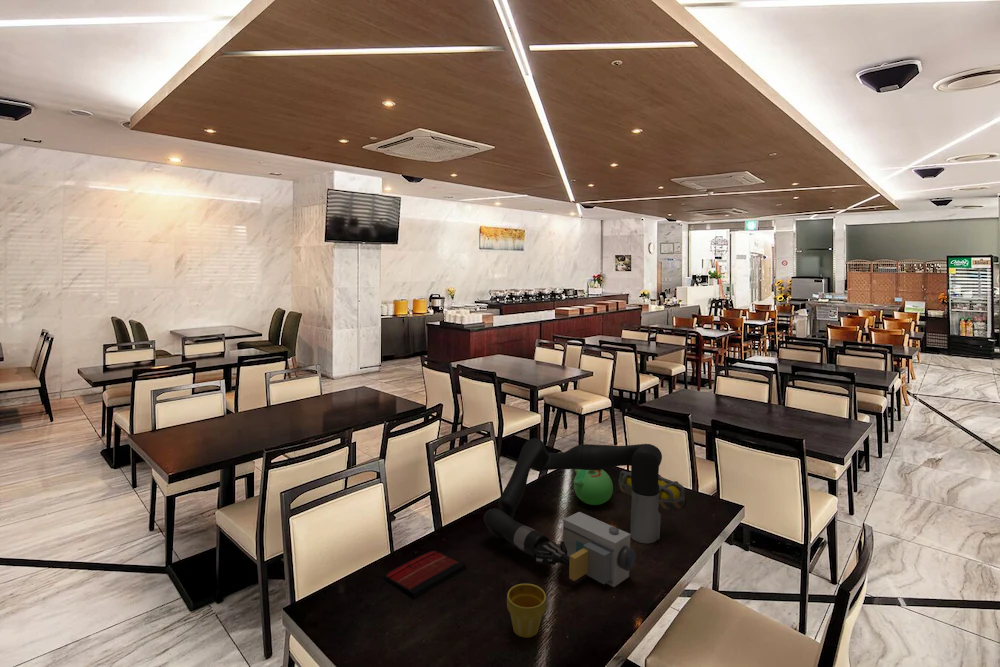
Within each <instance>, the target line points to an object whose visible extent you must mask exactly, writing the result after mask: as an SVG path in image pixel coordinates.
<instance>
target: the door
mask: <svg viewBox="0 0 1000 667" xmlns="http://www.w3.org/2000/svg"><path fill="white" fill-rule="evenodd" d="M568 569H569V570H568V574H569V575H568V578H569V579H570V580H572V581H573V582H575V581H577V580H579V579H580V578H581V577H584V576H585V575H586V576H587V577H589V578H591V579H593V580H595V581H596V582H598V583H601V584H603V585H605V584H607V582H608V581H610V577H611V552H610V551H608V550H606V549H604V548H602V547H600V546H598V545H596V544H594V543H592V542H588V543H586V544H585V545H583V549H581V550H579V551H578V552H576V553H574V554H572V555H571V556H570V562H569V567H568Z"/></svg>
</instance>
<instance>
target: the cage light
mask: <svg viewBox="0 0 1000 667" xmlns="http://www.w3.org/2000/svg"><path fill="white" fill-rule="evenodd" d="M658 484H659V506H658V509H662V510H669V511H672V510H673V511H674V510H679V509H682V508H683V507H685V499H686V498H685V497H686V496H685V492H686V491H685V490H686V489H685V487H684V486H683V485H682V484H681V483H679V481H677V480H676V481H675V480H674V481H673V480H670V479H667V478H665V477H662V475H661V474H659V477H658ZM618 486H619V487H618V490H619V491H620V490H621V491H620V492H622V493H624V494H626V493H627V494H626V495H628V494H629V495H628V496H630V495H631V496H630V497H632V483H631V471H629V472H628V471H625V470H620V473H619V478H618Z"/></svg>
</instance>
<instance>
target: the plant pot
mask: <svg viewBox="0 0 1000 667" xmlns="http://www.w3.org/2000/svg"><path fill="white" fill-rule="evenodd" d="M546 607H547V593H546V592H545V591H544V590H543V589H542V588H541V587H540V586H538V585H536V584H532V583H519V584H515V585H513V586H512V587H510V589H509V590H508V592H507V594H506V608H507V610H508V612H509V614H510V617H511V618H510V619H511V624H512V628H513V629H512V630H513V632H514V633H515V634H516V636H518V637H522V638H532V637H535V636H536V635H537V634H538V632H539V630H540V625H541V621H542V616H543V614H544V613H545V611H546V610H547V608H546Z"/></svg>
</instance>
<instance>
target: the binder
mask: <svg viewBox="0 0 1000 667" xmlns="http://www.w3.org/2000/svg"><path fill="white" fill-rule="evenodd" d="M464 570H467V563H466V562H462V561H460V560H458V559H456V558H454V557H451V556H449V555H447V554H445V553H444V552H441V551H438V550H429V551H428V552H425V553H423V554H421V555H418V556H415V557H414V558H412V559H410V560H408V561H406V562H404V563H402V564H400V565H399V566H396V567H395V568H393V569H391V570H389V571H387V572H386V573H385V574H384V580H386V581H387V582H388V583H390V584H391V585H393V586H394V587H395V588H397V589H398V590H400V591H401V592H403V593H404V594H408V593H411V594H412V595H413V600H415V599H417V598H419V597H420V596H422V595H424V594H425V593H427V592H429V591H430V590H432V589H434V588H436V587H438V586H439V585H440V584H442V583H444V582H447V580H449V579H451V578H453V577H454V576H457V575H458V574H460V573H462V572H463V571H464Z"/></svg>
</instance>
